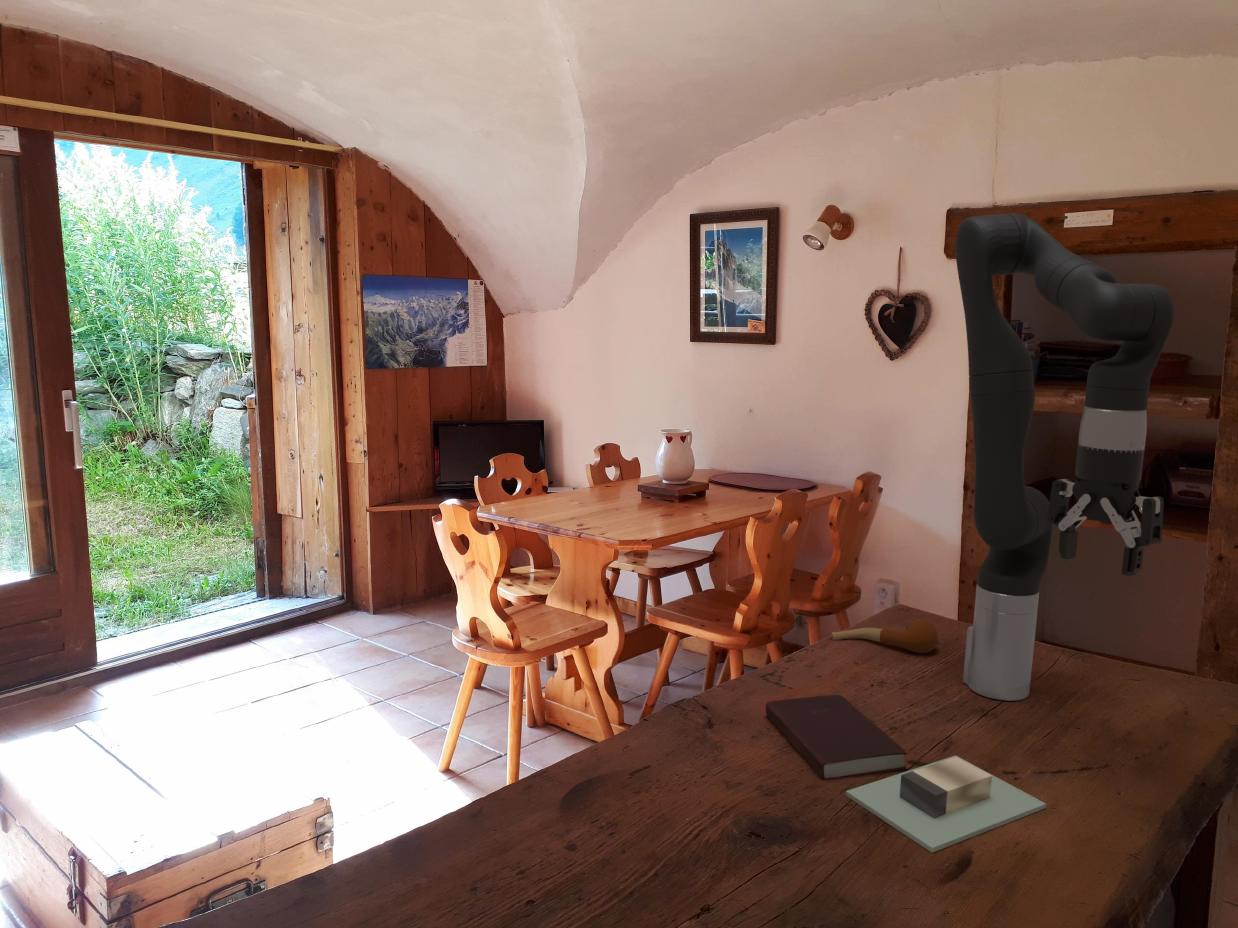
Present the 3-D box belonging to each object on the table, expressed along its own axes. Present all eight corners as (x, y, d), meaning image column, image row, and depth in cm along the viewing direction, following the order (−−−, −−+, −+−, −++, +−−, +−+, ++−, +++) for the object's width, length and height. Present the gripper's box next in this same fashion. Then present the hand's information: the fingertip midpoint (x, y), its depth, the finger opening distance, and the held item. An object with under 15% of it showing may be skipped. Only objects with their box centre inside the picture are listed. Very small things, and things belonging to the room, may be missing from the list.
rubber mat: (845, 795, 118) (845, 790, 118) (955, 759, 128) (955, 755, 128) (931, 852, 107) (932, 847, 106) (1045, 807, 116) (1046, 803, 116)
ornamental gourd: (938, 660, 164) (941, 629, 163) (830, 649, 168) (832, 619, 167) (934, 646, 171) (937, 615, 170) (831, 636, 175) (833, 606, 174)
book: (820, 783, 122) (822, 760, 122) (764, 718, 141) (765, 698, 140) (907, 773, 125) (909, 751, 125) (840, 711, 144) (842, 691, 143)
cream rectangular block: (954, 777, 122) (956, 756, 122) (990, 797, 117) (992, 775, 117) (899, 796, 117) (901, 774, 117) (933, 818, 112) (935, 795, 112)
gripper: (1184, 449, 115) (1168, 577, 118) (1078, 434, 127) (1066, 549, 130) (1148, 454, 111) (1132, 585, 114) (1042, 437, 123) (1030, 556, 126)
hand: (1097, 566), depth 122 cm, fingers open, 8 cm apart
